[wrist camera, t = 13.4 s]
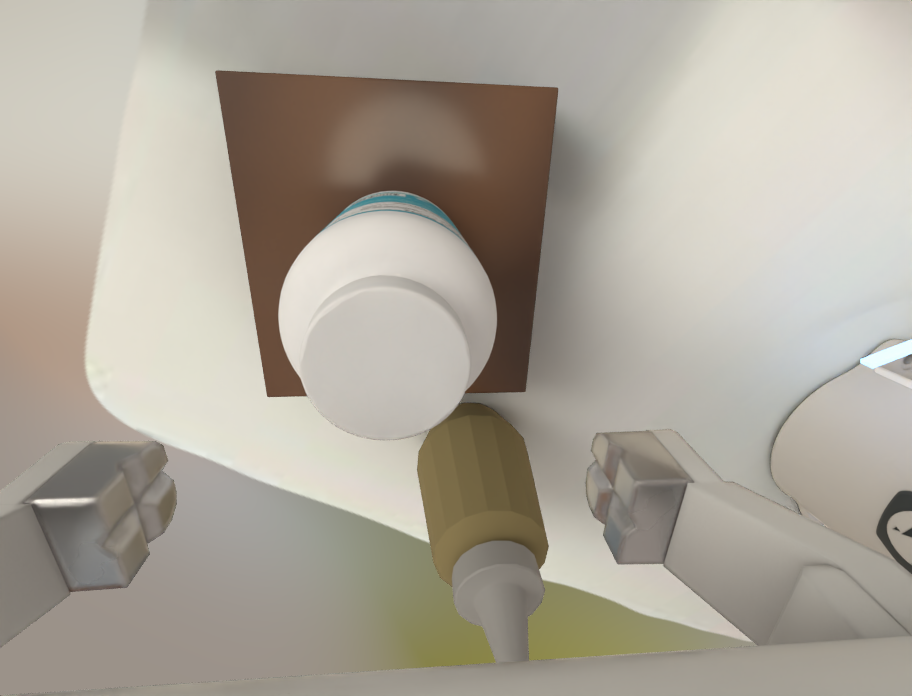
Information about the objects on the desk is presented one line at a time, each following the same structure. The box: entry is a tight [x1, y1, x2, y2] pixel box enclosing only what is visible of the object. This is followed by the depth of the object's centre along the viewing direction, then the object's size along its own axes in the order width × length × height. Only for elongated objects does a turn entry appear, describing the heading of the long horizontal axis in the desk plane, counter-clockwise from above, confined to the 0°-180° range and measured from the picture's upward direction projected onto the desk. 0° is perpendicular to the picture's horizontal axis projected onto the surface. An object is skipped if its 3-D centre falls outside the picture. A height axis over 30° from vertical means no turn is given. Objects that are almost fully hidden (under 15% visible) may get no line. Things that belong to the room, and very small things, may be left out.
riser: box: [215, 71, 558, 397], centre depth 27 cm, size 16×17×5 cm
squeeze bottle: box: [417, 403, 549, 663], centre depth 27 cm, size 8×8×18 cm
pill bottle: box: [278, 191, 497, 440], centre depth 18 cm, size 8×7×14 cm
